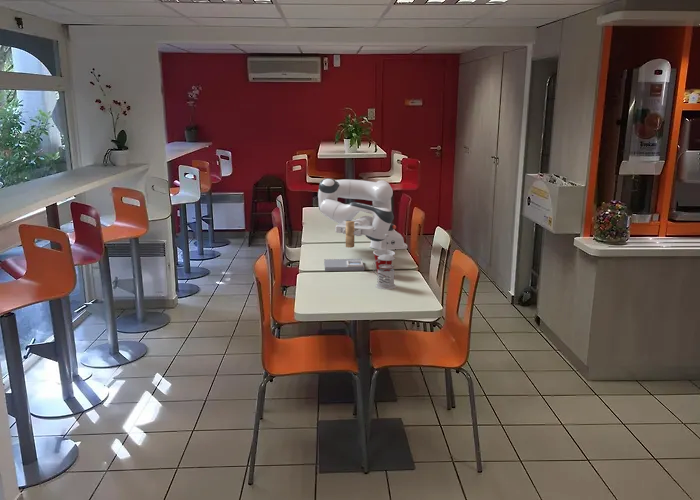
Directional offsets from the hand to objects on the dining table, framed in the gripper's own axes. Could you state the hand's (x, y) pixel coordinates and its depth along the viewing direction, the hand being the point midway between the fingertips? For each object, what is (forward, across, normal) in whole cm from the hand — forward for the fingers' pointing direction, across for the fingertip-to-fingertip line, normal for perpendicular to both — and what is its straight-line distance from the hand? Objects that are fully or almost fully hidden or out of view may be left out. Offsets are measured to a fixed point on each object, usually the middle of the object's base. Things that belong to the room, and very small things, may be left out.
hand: (349, 232), depth 298 cm
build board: (-2, +4, -19) cm, 19 cm away
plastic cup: (+5, -20, -19) cm, 28 cm away
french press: (+22, -26, -19) cm, 39 cm away
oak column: (-1, 0, -8) cm, 8 cm away
